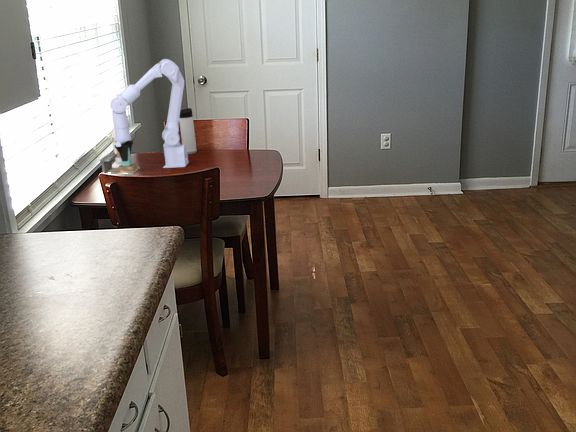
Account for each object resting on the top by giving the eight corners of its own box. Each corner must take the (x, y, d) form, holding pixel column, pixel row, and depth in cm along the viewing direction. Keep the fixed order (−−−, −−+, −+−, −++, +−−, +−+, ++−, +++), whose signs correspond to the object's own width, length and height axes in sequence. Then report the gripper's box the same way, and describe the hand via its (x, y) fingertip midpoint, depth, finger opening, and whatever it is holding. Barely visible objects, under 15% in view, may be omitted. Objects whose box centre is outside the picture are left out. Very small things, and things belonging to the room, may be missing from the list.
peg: (131, 164, 271) (129, 147, 269) (129, 166, 268) (126, 149, 266) (124, 164, 272) (121, 148, 269) (122, 166, 269) (119, 150, 266)
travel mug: (200, 151, 298) (195, 108, 292) (191, 154, 293) (185, 110, 287) (189, 150, 302) (184, 107, 295) (180, 153, 297) (175, 110, 290)
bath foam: (113, 161, 291) (106, 117, 284) (128, 159, 294) (122, 115, 288) (118, 164, 285) (111, 119, 279) (133, 161, 288) (127, 117, 282)
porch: (140, 168, 275) (137, 152, 273) (133, 174, 266) (130, 158, 264) (110, 170, 276) (107, 154, 274) (102, 176, 267) (99, 159, 265)
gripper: (117, 124, 272) (122, 156, 276) (106, 131, 258) (111, 164, 263) (134, 123, 271) (138, 155, 276) (123, 130, 258) (128, 163, 262)
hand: (126, 159), depth 269 cm, fingers closed on peg, 3 cm apart
